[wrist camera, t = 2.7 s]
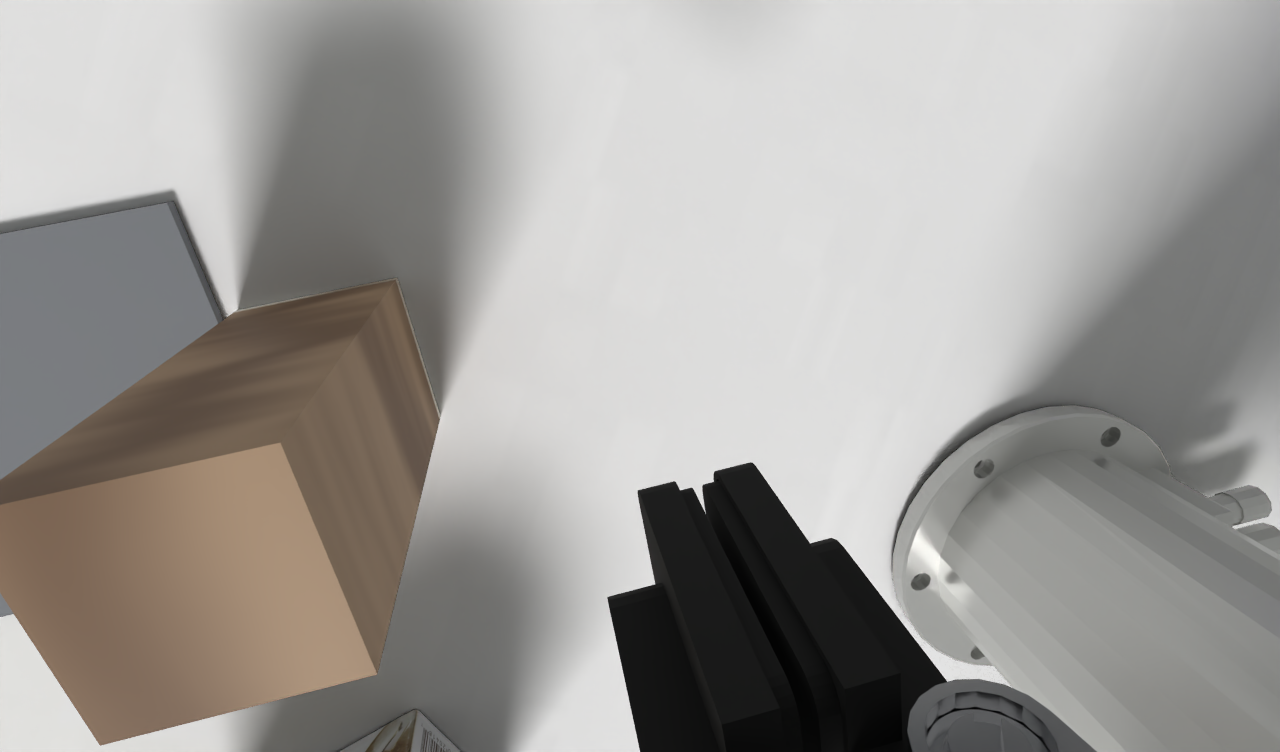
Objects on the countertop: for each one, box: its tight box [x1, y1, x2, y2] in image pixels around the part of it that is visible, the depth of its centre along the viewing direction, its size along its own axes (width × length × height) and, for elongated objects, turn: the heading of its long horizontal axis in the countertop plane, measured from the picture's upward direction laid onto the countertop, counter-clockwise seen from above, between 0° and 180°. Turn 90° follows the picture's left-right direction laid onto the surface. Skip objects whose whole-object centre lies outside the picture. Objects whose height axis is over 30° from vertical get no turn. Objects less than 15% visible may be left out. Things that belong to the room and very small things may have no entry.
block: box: [0, 278, 440, 745], centre depth 17 cm, size 5×5×12 cm
